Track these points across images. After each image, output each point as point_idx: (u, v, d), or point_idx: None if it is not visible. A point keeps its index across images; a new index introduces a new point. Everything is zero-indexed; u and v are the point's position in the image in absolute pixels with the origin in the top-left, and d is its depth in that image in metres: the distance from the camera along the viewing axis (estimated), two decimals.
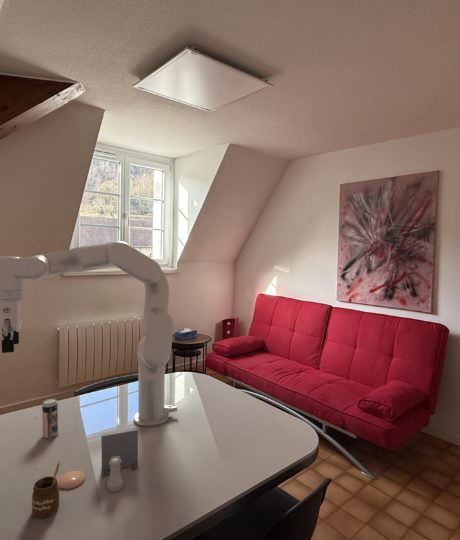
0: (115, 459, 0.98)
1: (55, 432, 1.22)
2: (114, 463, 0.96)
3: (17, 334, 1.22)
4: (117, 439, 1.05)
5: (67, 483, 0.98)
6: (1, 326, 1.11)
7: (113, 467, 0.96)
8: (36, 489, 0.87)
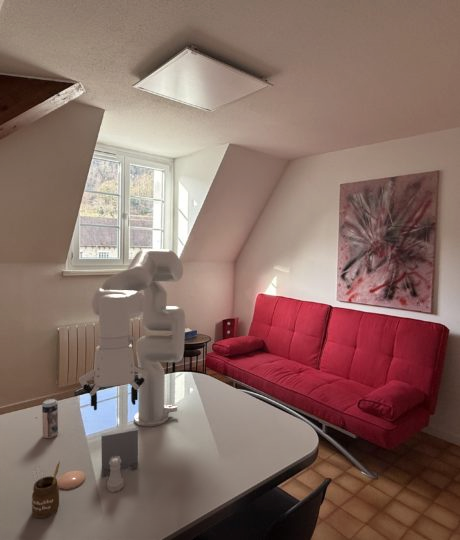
0: (115, 459, 0.98)
1: (55, 432, 1.22)
2: (114, 463, 0.96)
3: None
4: (117, 439, 1.05)
5: (67, 483, 0.98)
6: (134, 374, 0.96)
7: (113, 467, 0.96)
8: (36, 489, 0.87)
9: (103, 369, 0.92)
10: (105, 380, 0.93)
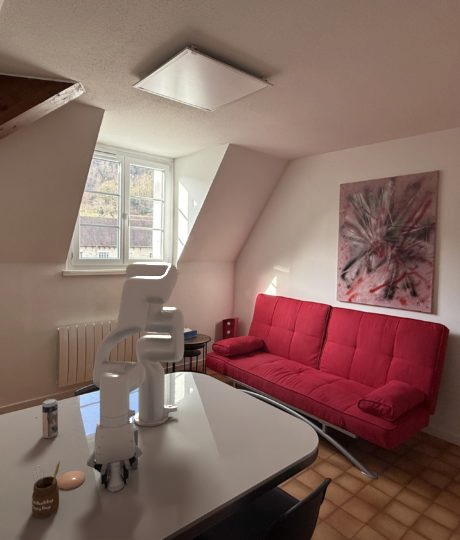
0: None
1: (55, 432, 1.22)
2: (114, 462, 0.96)
3: None
4: None
5: (67, 483, 0.98)
6: (134, 449, 0.98)
7: (113, 467, 0.96)
8: (36, 489, 0.87)
9: (104, 447, 0.94)
10: (106, 457, 0.94)
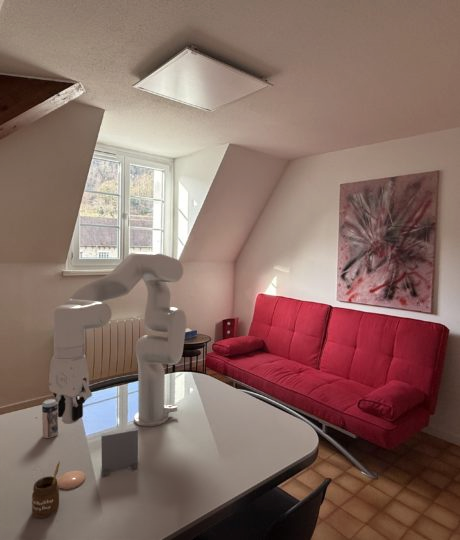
0: None
1: (55, 432, 1.22)
2: None
3: None
4: (117, 439, 1.05)
5: (67, 483, 0.98)
6: None
7: None
8: (36, 489, 0.87)
9: None
10: None
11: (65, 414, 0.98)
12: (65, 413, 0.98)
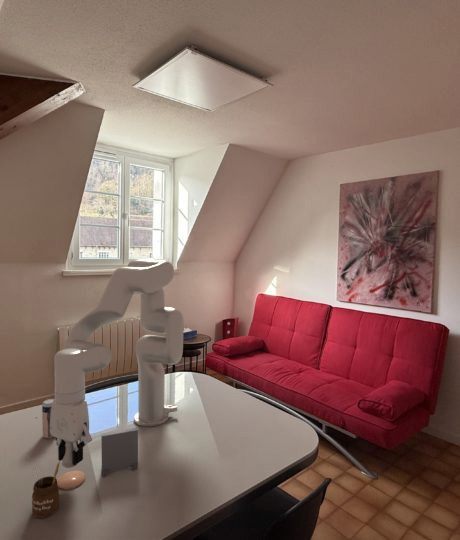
0: None
1: None
2: None
3: None
4: (117, 439, 1.05)
5: (67, 483, 0.98)
6: None
7: None
8: (36, 489, 0.87)
9: None
10: None
11: (65, 458, 0.98)
12: (65, 457, 0.98)
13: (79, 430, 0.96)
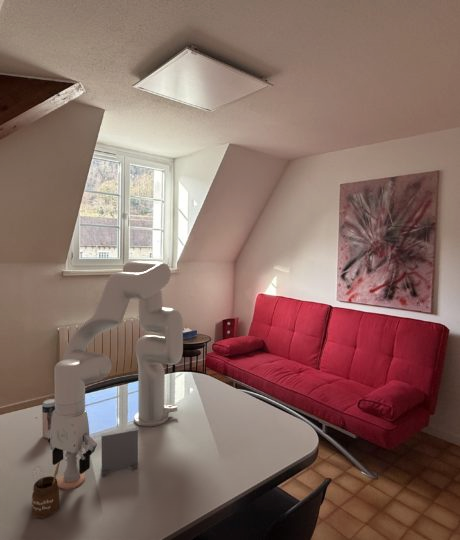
0: None
1: None
2: None
3: None
4: (117, 439, 1.05)
5: (67, 483, 0.98)
6: None
7: None
8: (36, 489, 0.87)
9: None
10: None
11: (66, 473, 0.99)
12: (67, 472, 0.99)
13: (79, 441, 0.96)
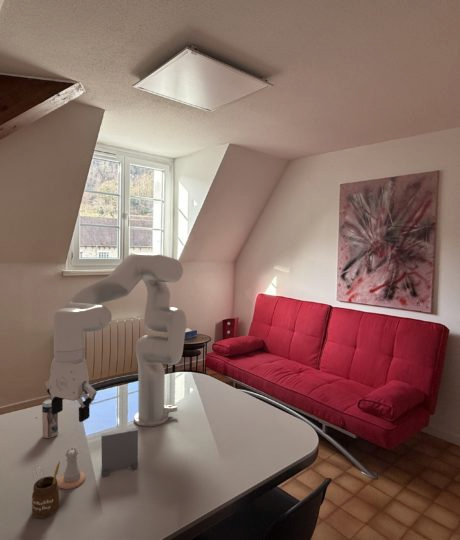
0: (71, 451, 1.00)
1: (55, 432, 1.22)
2: (76, 449, 1.01)
3: None
4: (117, 439, 1.05)
5: (67, 483, 0.98)
6: None
7: None
8: (36, 489, 0.87)
9: None
10: None
11: (66, 473, 0.99)
12: (67, 472, 0.99)
13: (79, 388, 0.95)
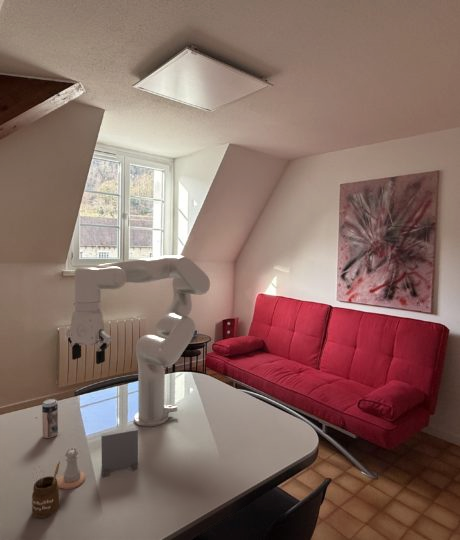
0: (71, 451, 1.00)
1: (55, 432, 1.22)
2: (76, 449, 1.01)
3: None
4: (117, 439, 1.05)
5: (67, 483, 0.98)
6: None
7: None
8: (36, 489, 0.87)
9: None
10: None
11: (66, 473, 0.99)
12: (67, 472, 0.99)
13: (96, 334, 1.11)
